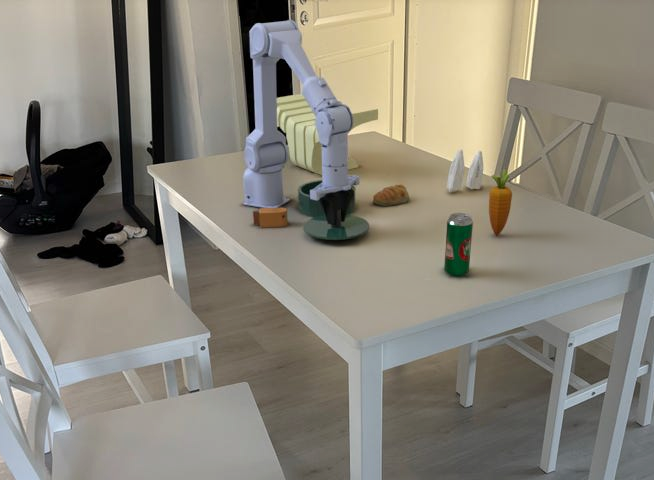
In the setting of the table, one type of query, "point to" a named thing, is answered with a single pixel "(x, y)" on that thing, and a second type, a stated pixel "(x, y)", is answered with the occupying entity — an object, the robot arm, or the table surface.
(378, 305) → the table surface
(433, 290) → the table surface
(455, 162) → the shaker set
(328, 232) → the pot lid
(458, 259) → the soda can
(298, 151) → the slatted curved stool
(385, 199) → the pastry
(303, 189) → the pot
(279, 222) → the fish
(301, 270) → the table surface
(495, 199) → the carrot
